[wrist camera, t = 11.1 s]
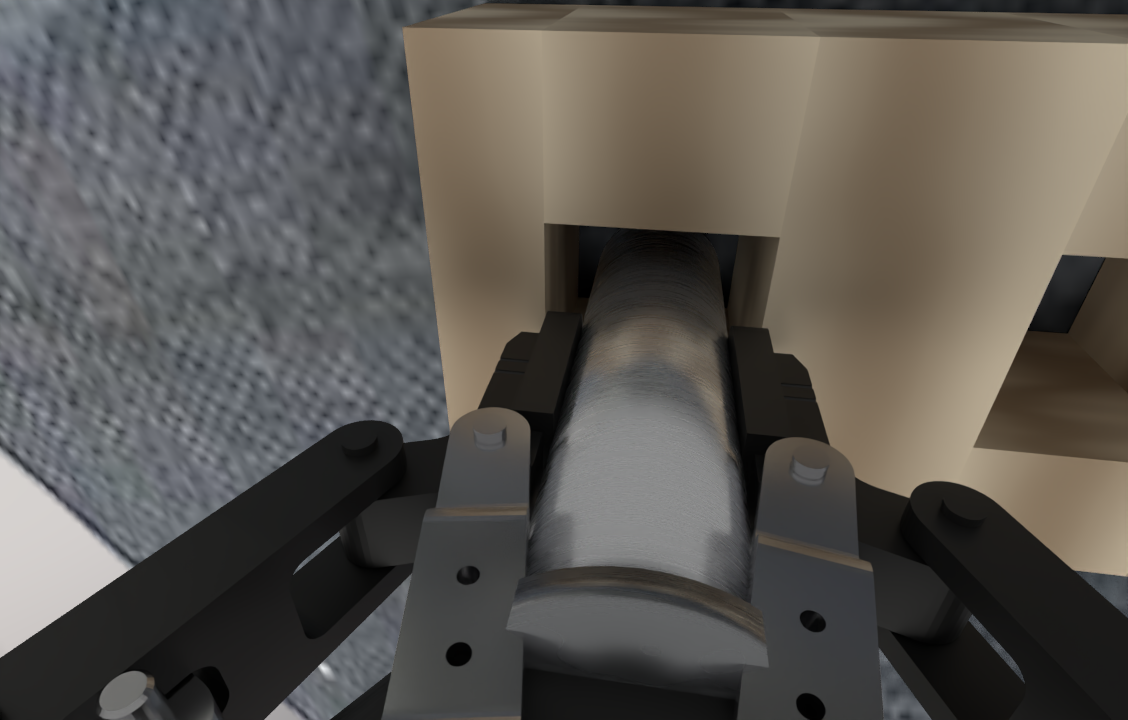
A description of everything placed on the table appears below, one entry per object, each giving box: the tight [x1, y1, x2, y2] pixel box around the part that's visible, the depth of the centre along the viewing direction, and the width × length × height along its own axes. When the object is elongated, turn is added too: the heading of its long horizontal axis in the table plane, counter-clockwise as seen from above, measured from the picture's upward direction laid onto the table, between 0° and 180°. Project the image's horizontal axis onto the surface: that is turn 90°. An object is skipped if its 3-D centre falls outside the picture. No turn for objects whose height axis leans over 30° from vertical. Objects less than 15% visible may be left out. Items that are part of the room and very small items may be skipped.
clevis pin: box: [506, 228, 769, 699], centre depth 12 cm, size 4×4×12 cm
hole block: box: [402, 3, 1128, 576], centre depth 16 cm, size 20×12×6 cm, turn 90°
